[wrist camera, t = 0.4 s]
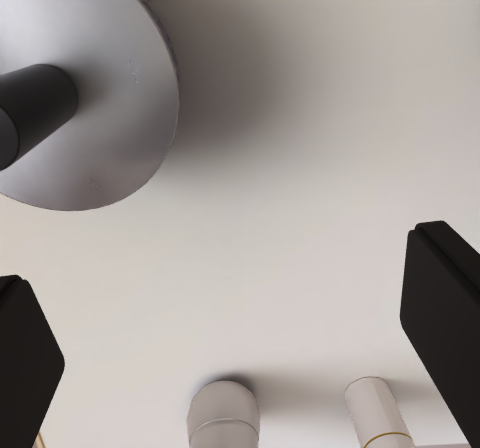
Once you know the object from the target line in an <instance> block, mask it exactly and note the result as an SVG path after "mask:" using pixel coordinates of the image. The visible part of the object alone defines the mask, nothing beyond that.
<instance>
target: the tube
mask: <svg viewBox="0 0 480 448" xmlns="http://www.w3.org/2000/svg"><path fill="white" fill-rule="evenodd" d="M345 400H346V403H347V406H348V409H349V412H350V415H351V418H352V421H353V424H354V427H355V430H356V433H357V436H358V440H359V443H360V446H361V448H416V447H415V445H414V443H413V440H412V438H411V436H410V434H409V432H408V429H407V427H406V425H405V423H404V420H403V418H402V416H401V414H400V412H399V409H398V407H397V405H396V403H395V400H394V398H393V396H392V394H391V392H390V389H389V387H388V385H387V383H386V382H385V381H384V380H382V379H379V378H375V377H367V378H362V379H359V380H357V381H355V382H353V383H352V384H350V385H349V386H348V388H347V389H346V391H345Z"/></svg>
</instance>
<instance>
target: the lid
mask: <svg viewBox="0 0 480 448" xmlns="http://www.w3.org/2000/svg"><path fill="white" fill-rule="evenodd" d="M178 117H179V87H178V79H177V74H176V70H175V65H174V62H173V59H172V56H171V53H170V50H169V47H168V45H167V43H166V41H165V39H164V37H163V34H162V32H161V30H160V28H159V27H158V25H157V24H156V22H155V20H154V19H153V17H152V16H151V14H150V13H149V11H148V10H147V9H146V7H145V6H144V5H143V4H142V2H141V1H140V0H0V193H1V194H3V195H5V196H7V197H10V198H12V199H15V200H17V201H20V202H22V203H25V204H29V205H32V206H35V207H40V208H45V209H50V210H60V211H83V210H89V209H96V208H100V207H103V206H107V205H110V204H113V203H115V202H118V201H120V200H122V199H124V198H126V197H128V196H129V195H131V194H132V193H134V192H136V191H137V190H138V189H139V188H141V187H142V186H143V185H144V184H146V183H147V182H148V181H149V180H150V178H151V177H152V176H153V175H154V174H155V173H156V172H157V170H158V169H159V167H160V166H161V164H162V163H163V161H164V160H165V158H166V156H167V154H168V152H169V150H170V147H171V145H172V142H173V138H174V135H175V132H176V128H177V122H178Z"/></svg>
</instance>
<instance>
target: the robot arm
mask: <svg viewBox="0 0 480 448" xmlns="http://www.w3.org/2000/svg"><path fill="white" fill-rule="evenodd" d="M400 321H401V325H402V328H403V330H404V332H405V333H406V335H407V337H408V338H409V340H410V342H411V344H412V345H413V347H414V349H415V351H416V352H417V354H418V356H419V358H420V359H421V361H422V363H423V364H424V366H425V368H426V370H427V371H428V373H429V375H430V377H431V378H432V380H433V382H434V383H435V385H436V387H437V389H438V390H439V392H440V394H441V396H442V397H443V399H444V401H445V403H446V404H447V406H448V408H449V409H450V411H451V413H452V415H453V416H454V418H455V420H456V422H457V423H458V425H459V427H460V428H461V430H462V432H463V434H464V435H465V437H466V439H467V441H468V442H469V444H470V446H471V448H480V254H479V253H478V252H477V251H476V250H475V249H474V248H472V247H471V246H470V245H469V244H468V243H467V242H466V241H465V240H464V239H463V238H462V237H461V236H460V235H459V234H458V233H457V232H456V231H454V230H453V229H452V228H451V227H450V226H449V225H448V224H447V223H446V222H444V221H433V222H425V223H418V224H417V225H416V227H415V230H411V231H409V233H408V238H407V248H406V258H405V268H404V278H403V288H402V298H401V308H400ZM64 367H65V361H64V357H63V354H62V352H61V350H60V348H59V346H58V344H57V341H56V339H55V337H54V335H53V333H52V331H51V328H50V326H49V324H48V322H47V320H46V318H45V315H44V313H43V311H42V309H41V307H40V305H39V302H38V300H37V298H36V296H35V294H34V292H33V290H32V287H31V285H30V283H29V282H28V281H27V280H22V278H21V277H20V276H18V275H9V276H1V277H0V448H32V446H33V444H34V442H35V439H36V437H37V435H38V432H39V430H40V427H41V425H42V423H43V420H44V418H45V415H46V413H47V410H48V408H49V406H50V403H51V401H52V398H53V396H54V394H55V391H56V389H57V386H58V384H59V381H60V379H61V377H62V374H63V371H64Z"/></svg>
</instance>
